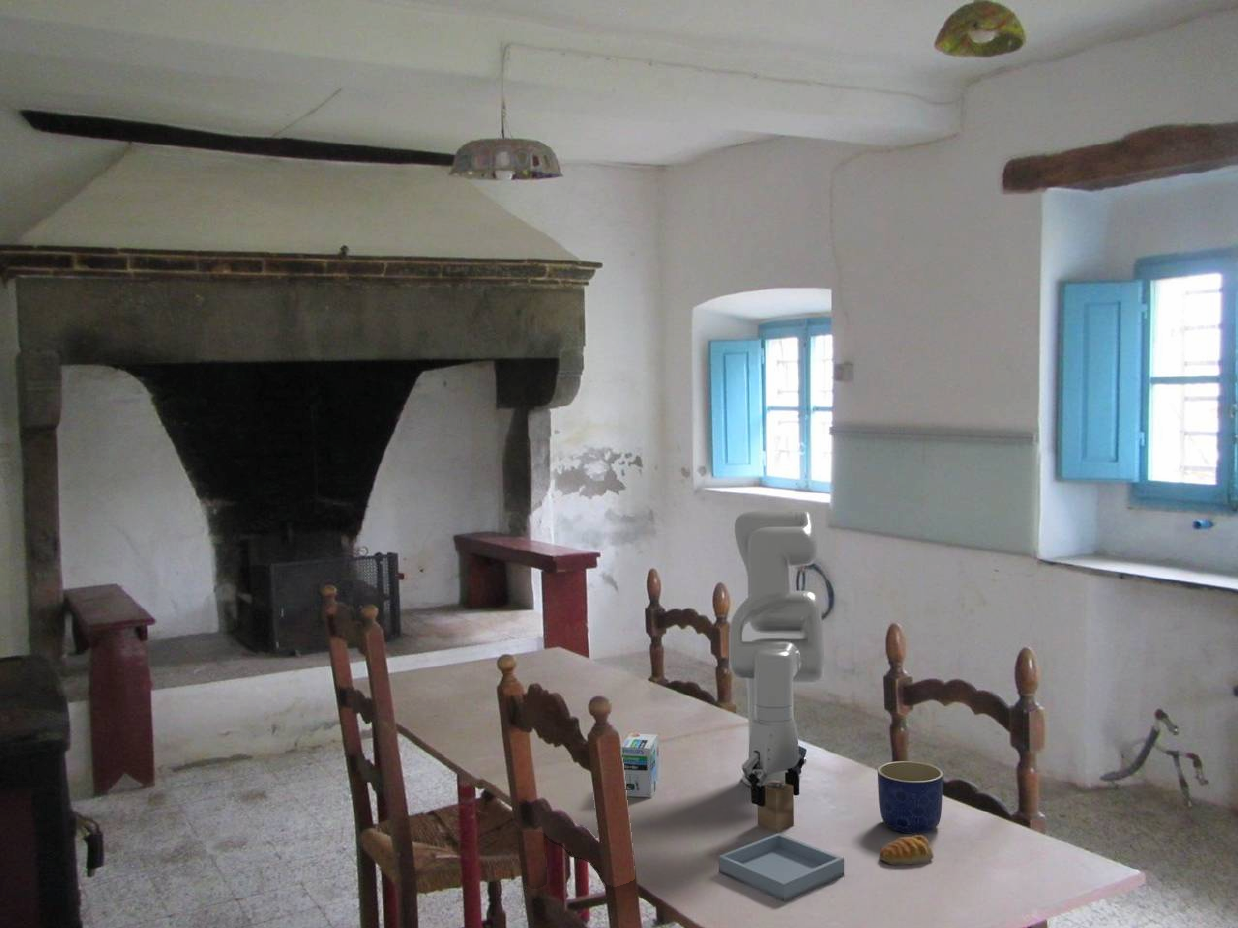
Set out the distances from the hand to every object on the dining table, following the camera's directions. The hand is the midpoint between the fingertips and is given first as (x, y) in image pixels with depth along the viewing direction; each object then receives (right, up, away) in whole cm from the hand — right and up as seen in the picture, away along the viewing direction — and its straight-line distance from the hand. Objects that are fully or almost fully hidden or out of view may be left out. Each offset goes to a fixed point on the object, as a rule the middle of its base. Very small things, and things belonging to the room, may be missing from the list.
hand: (775, 799), depth 218 cm
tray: (-2, -7, -21) cm, 23 cm away
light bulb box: (-26, -5, +24) cm, 35 cm away
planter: (+26, -5, -1) cm, 27 cm away
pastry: (+22, -6, -16) cm, 28 cm away
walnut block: (0, -6, +1) cm, 6 cm away
